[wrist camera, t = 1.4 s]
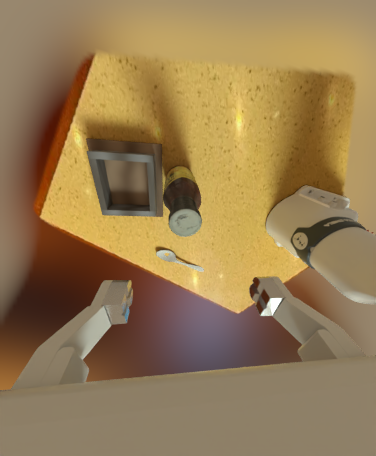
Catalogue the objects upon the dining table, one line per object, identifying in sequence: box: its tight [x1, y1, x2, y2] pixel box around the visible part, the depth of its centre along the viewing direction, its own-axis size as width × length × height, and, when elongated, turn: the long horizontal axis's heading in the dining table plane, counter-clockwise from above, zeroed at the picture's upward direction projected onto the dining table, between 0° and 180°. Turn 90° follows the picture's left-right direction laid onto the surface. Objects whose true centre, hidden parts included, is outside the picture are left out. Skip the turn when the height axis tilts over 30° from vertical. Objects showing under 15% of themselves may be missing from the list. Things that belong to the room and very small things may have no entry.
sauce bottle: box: [163, 166, 202, 237], centre depth 26 cm, size 6×6×20 cm
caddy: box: [86, 139, 163, 217], centre depth 32 cm, size 14×16×5 cm
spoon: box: [156, 250, 204, 271], centre depth 48 cm, size 4×21×2 cm, turn 56°
